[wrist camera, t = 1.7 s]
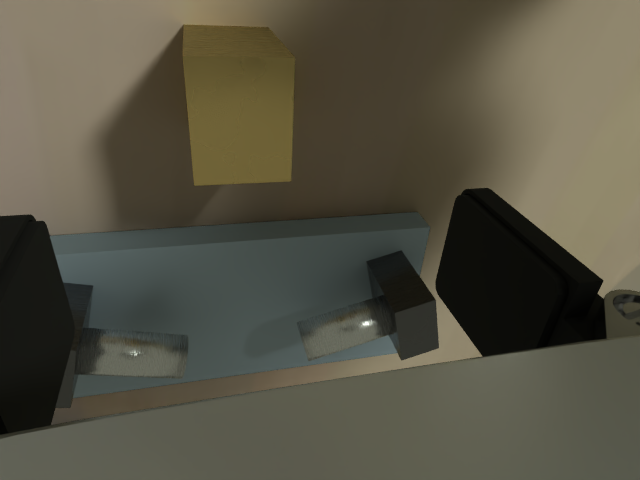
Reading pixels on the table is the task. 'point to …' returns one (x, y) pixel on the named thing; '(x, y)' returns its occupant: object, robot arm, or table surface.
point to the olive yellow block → (238, 104)
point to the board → (233, 287)
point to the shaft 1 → (116, 349)
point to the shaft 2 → (379, 314)
